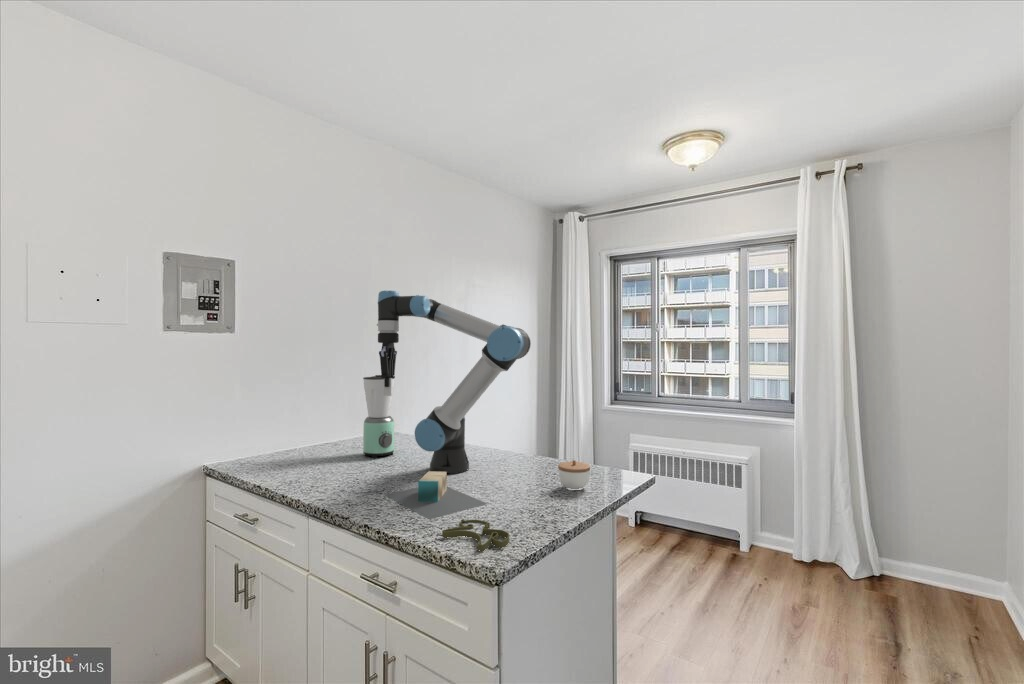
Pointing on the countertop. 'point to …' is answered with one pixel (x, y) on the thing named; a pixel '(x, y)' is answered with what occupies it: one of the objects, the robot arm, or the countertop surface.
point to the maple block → (432, 486)
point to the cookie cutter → (492, 532)
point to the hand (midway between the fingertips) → (388, 395)
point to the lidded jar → (574, 474)
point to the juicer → (378, 419)
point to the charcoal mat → (446, 504)
